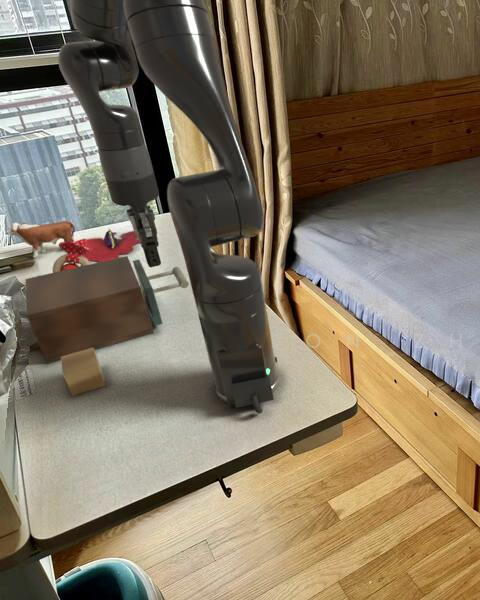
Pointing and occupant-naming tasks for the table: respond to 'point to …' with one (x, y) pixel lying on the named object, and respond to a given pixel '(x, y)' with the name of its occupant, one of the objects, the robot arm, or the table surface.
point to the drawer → (149, 291)
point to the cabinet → (86, 308)
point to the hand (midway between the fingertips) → (154, 264)
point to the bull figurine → (43, 234)
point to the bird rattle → (72, 255)
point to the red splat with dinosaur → (110, 246)
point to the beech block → (82, 371)
